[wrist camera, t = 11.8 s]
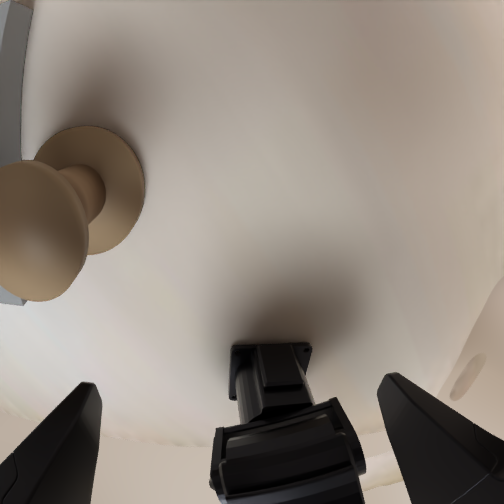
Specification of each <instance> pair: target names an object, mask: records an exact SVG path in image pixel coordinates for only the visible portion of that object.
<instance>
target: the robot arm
mask: <svg viewBox="0 0 504 504" xmlns="http://www.w3.org/2000/svg"><path fill="white" fill-rule="evenodd" d="M305 348H307V349H305ZM236 351H239V352H236ZM311 353H312V346H311V344H310V343H288V344H264V345H235V346H233V347H232V348H231V353H230V373H229V399H230V400H234V401H235V400H237V401H238V409H239V417H240V425H235V426H230V427H225V428H224V427H219V428H216V433H215V437H214V442H213V451H212V461H211V471H210V480H209V485H210V487H211V488H212V489H213V490H215V491H216V494H217V496H218V498H219V500H220V502H221V504H365V501H364V497H363V493H362V489H361V485H360V481H359V477H358V476H360V475H362V474H365V473H366V463H365V458H364V454H363V451H362V447H361V444H360V442H359V439H358V437H357V434H356V432H355V430H354V428H353V426H352V425H351V423H350V421H349V419H348V417H347V415H346V414H345V412H344V410H343V408H342V406H341V405H340V403H339V401H338V399H337V397H334V398H331V399H329V401H326V402H323V403H320V404H317V405H315V402H314V399H313V396H312V394H311V391H310V388H309V385H308V382H307V379H306V377H305V375H306V371H307V368H308V364H309V360H310V356H311ZM234 395H235V396H234ZM377 397H378V401H379V405H380V408H381V412H382V416H383V420H384V424H385V428H386V431H387V435H388V437H389V440H390V443H391V446H392V448H393V451H394V454H395V457H396V459H397V462H398V465H399V468H400V471H401V474H402V476H403V479H404V482H405V485H406V488H407V491H408V494H409V497H410V500H411V503H412V504H504V441H503V440H501V439H500V438H498V437H496V436H494V435H492V434H491V433H489V432H487V431H486V430H484V429H482V428H481V427H479V426H478V425H476V424H473V422H471V421H470V420H468V419H467V418H465V417H464V416H462V415H461V414H459V413H458V412H456V411H455V410H453V409H452V408H450V407H449V406H447V405H445V404H444V403H443V402H441V401H439V400H438V399H437V398H435V397H434V396H432V395H431V394H429V393H428V392H426V391H425V390H423V389H422V388H420V387H419V386H417V385H416V384H414V383H413V382H411V381H410V380H408V379H407V378H405V377H404V376H402V375H401V374H399V373H397V372H393V373H388V374H386V375H385V376H384V378H383V380H382V382H381V384H380V386H379V388H378V391H377ZM101 415H102V400H101V397H100V395H99V392H98V390H97V387H96V385H95V384H94V383H90V382H81V383H80V384H79V385H78V386H77V387H76V388H75V389H74V390H73V391H72V392H71V393H70V394H69V395H68V396H67V397H66V398H65V399H64V400H63V401H62V402H61V403H60V404H59V405H58V406H57V407H56V408H55V409H54V410H53V411H52V412H51V413H50V414H49V415H48V416H47V417H46V418H45V419H44V420H43V421H42V422H41V423H40V424H39V425H38V426H37V427H36V428H35V429H34V430H33V431H32V432H31V434H29V435H28V437H27V438H26V439H25V440H24V441H23V442H22V443H21V444H20V445H19V446H18V447H17V448H16V449H15V450H14V451H13V453H11V454H10V455H9V456H8V457H7V458H6V459H5V460H4V461H3V462H2V463H1V464H0V504H90V502H91V495H92V488H93V481H94V475H95V469H96V463H97V457H98V451H99V439H100V426H101Z"/></svg>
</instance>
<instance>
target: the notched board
mask: <svg viewBox="0 0 504 504" xmlns="http://www.w3.org/2000/svg"><path fill="white" fill-rule="evenodd" d="M32 13H33V10H32V9H30V8H28V7H26V6H24V5H22V4H19V3H17V2H15V1H13V0H9V1H7V2H4V3H2V4H0V168H1V167H3V166H5V165H8V164H11V163H14V162H17V161H21V136H20V122H21V94H22V80H23V70H24V61H25V53H26V46H27V40H28V34H29V28H30V23H31V18H32ZM26 302H27V300H25V299H22V298H19V297H17V296H15V295H13V294H12V293H10V292H8V291H7V290H6V289H4V288H3V287H2V286H1V285H0V303H3V304H10V305H19V306H23V305H24V304H25V303H26Z"/></svg>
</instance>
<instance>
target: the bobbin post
mask: <svg viewBox="0 0 504 504" xmlns="http://www.w3.org/2000/svg"><path fill="white" fill-rule="evenodd" d="M144 197H145V183H144V176H143V171H142V168H141V165H140V163H139V161H138V159H137V157H136V155H135V153H134V152H133V150H132V149H131V148H130V146H129V145H128V144H127V143H126V142H125V141H124V140H123V139H122V138H121V137H119V136H118V135H116V134H115V133H113V132H111V131H109V130H107V129H104V128H100V127H95V126H81V127H74V128H69V129H66V130H63V131H61V132H59V133H57V134H55V135H54V136H53V137H51V138H50V139H49V140H48V141H47V142H46V143H45V144H44V145H43V146H42V147H41V148H40V150H39V151H38V153H37V154H36V156H35V158H34V160H22V161H17V162H14V163H11V164H8V165H5V166H3V167H1V168H0V285H1V286H2V287H3V288H4V289H6V290H7V291H8V292H10V293H12V294H13V295H15V296H17V297H19V298H22V299H25V300H29V301H35V302H42V301H48V300H52V299H54V298H56V297H58V296H60V295H61V294H63V293H64V292H65V291H66V290H67V289H68V288H69V287H70V285H71V284H72V282H73V281H74V279H75V278H76V277H77V275H78V274H79V272H80V271H81V269H82V267H83V265H84V263H85V260H86V257H87V255H94V254H99V253H103V252H106V251H108V250H110V249H112V248H114V247H115V246H117V245H118V244H119V243H120V242H122V241H123V240H124V239H125V238H126V236H127V235H128V234H129V233H130V231H131V230H132V228H133V227H134V225H135V223H136V222H137V220H138V218H139V216H140V213H141V210H142V207H143V203H144Z"/></svg>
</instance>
